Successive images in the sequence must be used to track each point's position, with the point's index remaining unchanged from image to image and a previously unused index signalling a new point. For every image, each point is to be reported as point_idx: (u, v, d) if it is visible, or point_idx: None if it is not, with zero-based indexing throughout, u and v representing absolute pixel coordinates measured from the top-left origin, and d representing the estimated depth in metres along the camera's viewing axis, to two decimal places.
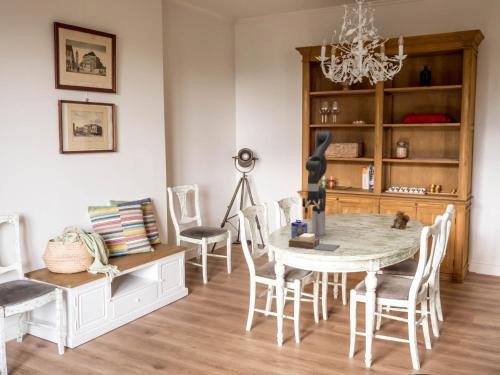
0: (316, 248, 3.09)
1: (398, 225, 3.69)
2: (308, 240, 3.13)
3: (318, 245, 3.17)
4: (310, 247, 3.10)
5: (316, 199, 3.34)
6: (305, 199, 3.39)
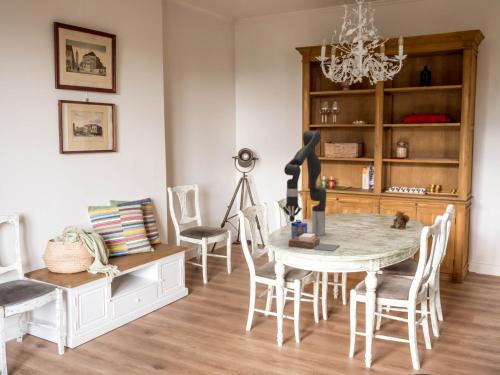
0: (316, 248, 3.09)
1: (398, 225, 3.69)
2: (308, 240, 3.13)
3: (318, 245, 3.17)
4: (310, 247, 3.10)
5: (296, 205, 3.18)
6: (285, 207, 3.22)
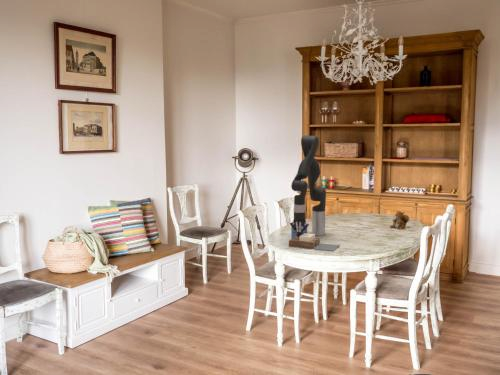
0: (316, 248, 3.09)
1: (397, 225, 3.69)
2: (308, 240, 3.13)
3: (318, 245, 3.17)
4: (310, 247, 3.10)
5: (303, 221, 3.17)
6: (292, 222, 3.21)
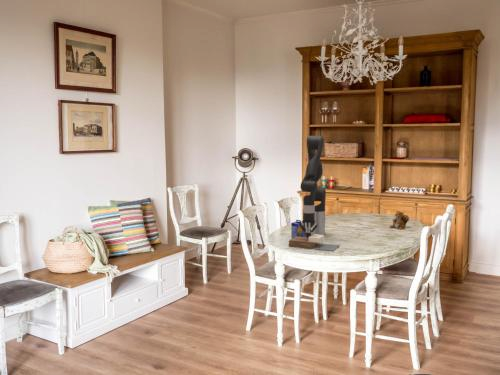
0: (316, 248, 3.09)
1: (397, 225, 3.69)
2: (317, 241, 3.10)
3: (318, 245, 3.17)
4: (310, 247, 3.10)
5: (313, 221, 3.14)
6: (301, 223, 3.18)
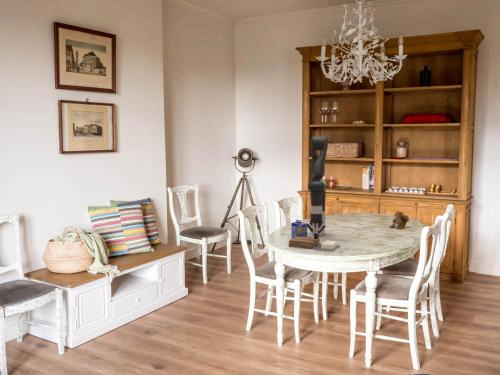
0: (316, 248, 3.09)
1: (397, 225, 3.69)
2: (322, 245, 3.08)
3: (318, 245, 3.17)
4: (310, 247, 3.10)
5: (320, 222, 3.12)
6: (309, 224, 3.16)
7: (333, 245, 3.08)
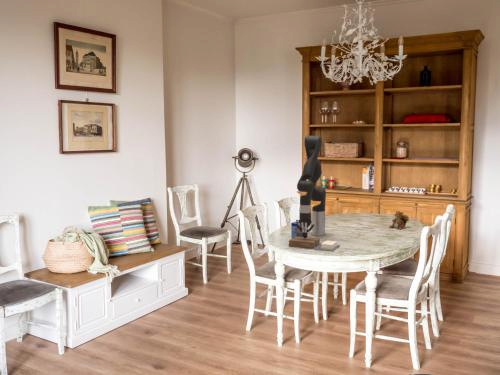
0: (316, 248, 3.09)
1: (397, 225, 3.69)
2: (322, 245, 3.08)
3: (318, 245, 3.17)
4: (310, 247, 3.10)
5: (309, 221, 3.15)
6: (298, 223, 3.19)
7: (333, 245, 3.08)
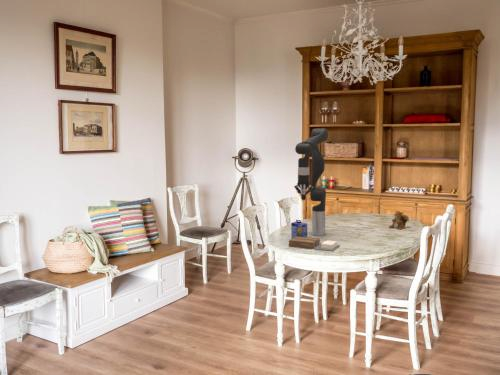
0: (316, 248, 3.09)
1: (396, 225, 3.69)
2: (322, 245, 3.08)
3: (318, 245, 3.17)
4: (310, 247, 3.10)
5: (307, 183, 3.22)
6: (296, 185, 3.26)
7: (333, 245, 3.08)
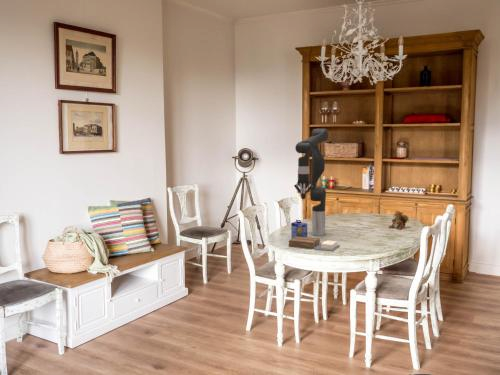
0: (316, 248, 3.09)
1: (396, 225, 3.69)
2: (322, 245, 3.08)
3: (318, 245, 3.17)
4: (310, 247, 3.10)
5: (307, 182, 3.22)
6: (296, 184, 3.26)
7: (333, 245, 3.08)
